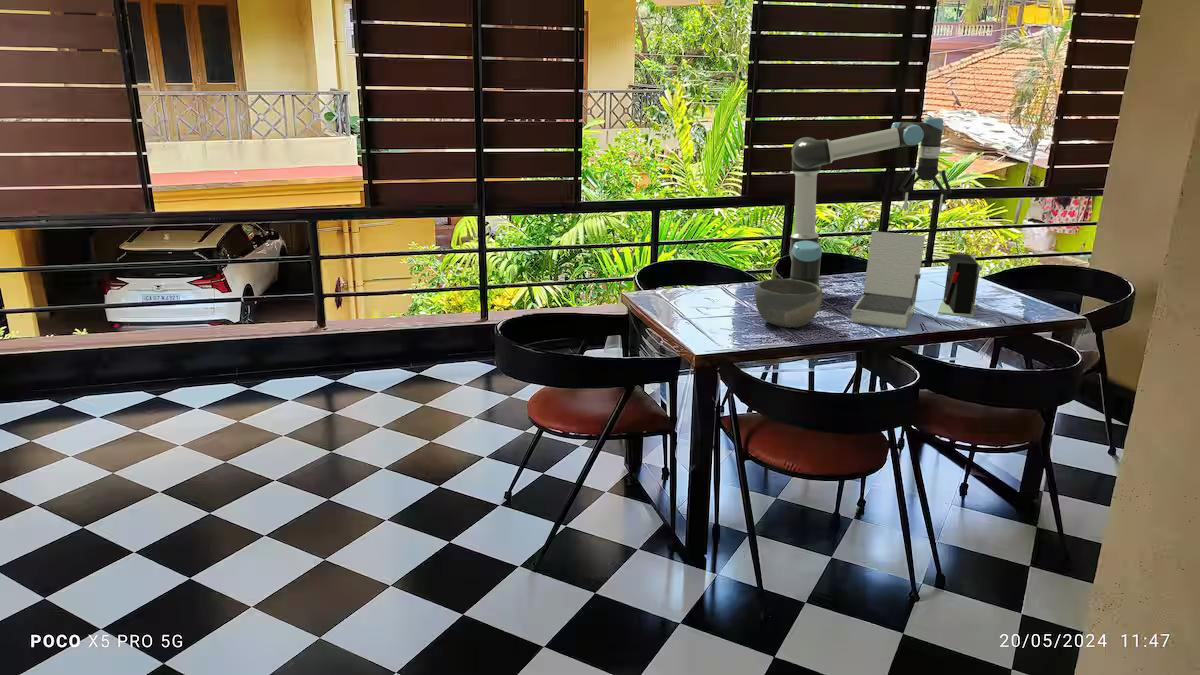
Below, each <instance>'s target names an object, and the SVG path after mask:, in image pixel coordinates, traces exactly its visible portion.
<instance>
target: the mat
mask: <svg viewBox="0 0 1200 675" xmlns="http://www.w3.org/2000/svg"><path fill="white" fill-rule="evenodd" d="M943 300H944V298H942V300H941V302H940V306H939V307H938V310H937V314H940V315H941V314H942V315H950V316H958V317H963V318H964V317H965V318H974V316H975V312H976V310H975V311H972V313H970V314H963V313H953V311H952V309H951V308H950V306H949V305H948V304H945V303H944V301H943ZM973 305H975V306H976V307H977V305H978V303H977V302H975V304H973Z"/></svg>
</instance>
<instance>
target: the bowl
mask: <svg viewBox="0 0 1200 675" xmlns="http://www.w3.org/2000/svg"><path fill="white" fill-rule="evenodd" d="M754 294H755V296H754V299H755V305H756V309H757V311H758V314H759V315H760V317H761V318H762V319H763V320H764V321H766V322H767V323H769V324H772V325H774V326H778V327H782V328H787V327H788V328H790V329H791V327H793V328H796V329H797V328H800V327H804V326H806V325H807V324H809V323H810V322H811V321H812V320H813V319H814V318H815V316H817V315H816V314H817V313H818V312H819V309H820V307H821V305H822V302H823V290H822V288H821V286H820V287H819V286H818V285H816V284H813V283H809V282H805V281H800V280H793V279H790V278H789V279H788V278H771V279H766V280H763V281H761V282H759V283H758V284H757V285H756V289H755V293H754Z"/></svg>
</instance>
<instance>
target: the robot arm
mask: <svg viewBox="0 0 1200 675" xmlns="http://www.w3.org/2000/svg"><path fill="white" fill-rule="evenodd" d="M943 129H944V120H943V118H941V117H934V116H933V117H928V116H927V117H924V118H923V121H922V122H909V121H908V122H907V121H905V122H903V121H899V122H896V121H895V122H893V123H892V124H891V127H890V128H888V129H884V130H879V131H874V132H868V133H864V134H858V135H853V136H849V137H844V138H838V139H834V140H830V139H828V138H826V139H816V138H814V137H811V136H805V137H801V138H799V139H797V140H796V141H795V142H794V143H793V145H792V147H791V151H790V154H791V172H792V173H793V174H794V176H795V182H794V183H795V184H794V185H795V186H794V188H795V189H794V190H795V191H794V226H793V227H794V228H793V229H794V232H793V233H791V235H790V246H789V250H788V252H789V257H790V260H791V266H790V277H789V279H793V280H800V281H805V282H809V283H813V284H816V285H818V286H819V287H820V288H821V285H820V274H821V273H820V271H821V261H822V260H821V259H822V253H823V251H822V249H823V248H822V245H821V244H820V243H819V239H820V238H819V237H820V236H819V234H818V233H817V232H816V217H817V216H816V211H817V179H818V174H819V173H820V172H821V168H822V166H824V165H829V164H831V163H833V161H836V160H841V159H844V158H850V157H854V156H855V157H856V156H860V155H865V154H870V153H871V154H872V153H874V152H875V153H877V152H880V151H884V150H891V149H895V148H900V147H906V146H907V147H908V146H916V145H919V144H920V147H919V148H920V149H919V153H918V154H919V158H918V164H917V168H913V167H911V168H910V169H909V170H908V173H907V175H906V177H905V178H904V180H903V181H902V183H901V184H900V185H899V187H898V191H900V192H901V193H902V196H901V200H902V201H904V204H903V209H905V210H906V209H907V207H908V206H907V205H908V200H909V199H908V198H909V192H908V191H909V190H910V189H911V188H912V187H913V186H914V185H915V184H916V183H917V182H919V181H920V180H921V181H928V182H930V181H933V183H934V184H935V185H936V187H937V189H939V191H940V192H941V194H940V199H939V207H938V212H942V210H943V209H942V208H943V204H945V203H947V202H946V201H947V196H948V195H951V194H952V192H953V191H952V188H951V186H950V183H949V180H948V178H947V175H946V173H947V172H946V170H945V169H943V170H939V162H940V160H939V157H940V154H941V153H940V152H941V144H942V138H943V131H944V130H943ZM915 173H916V175H917V176H916V177H915V179H914V180H913V181H911V182H910V183H909V184H908V185H907V186H906V184H907V183H908V181H910V180H909V179H910V178H911V176H912V175H914V174H915ZM938 174H939V176H940V177H941V178H942V181H943V183H944V186H945V188H946V190H945V188H944V187H943V185H942V184H941V183H940V181H939V180H938V178H937V175H938ZM905 186H906V187H905ZM904 187H905V188H904Z"/></svg>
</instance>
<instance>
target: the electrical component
mask: <svg viewBox="0 0 1200 675" xmlns="http://www.w3.org/2000/svg"><path fill="white" fill-rule="evenodd" d="M947 265H948V266H947V272H946V279H945V287H944V293H943V299H944V300H943V299H942V300H943V301H944V303H945V304H948V305H949V306H950V308H951V309H952V311H953V313H963V314H970V313H972V311H975V312H976V310H977V305H976V306H975V305H973V304H975V303H976V297H977V296H976V295H977V291H978V290H977V289H978V283H979V277H980V272H981V271H982V270H983V266H982V265H981V264H979V262H977V260H976V258H975V257H973V256H972V255H970V254H966V253H949V257H948V264H947Z"/></svg>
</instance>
